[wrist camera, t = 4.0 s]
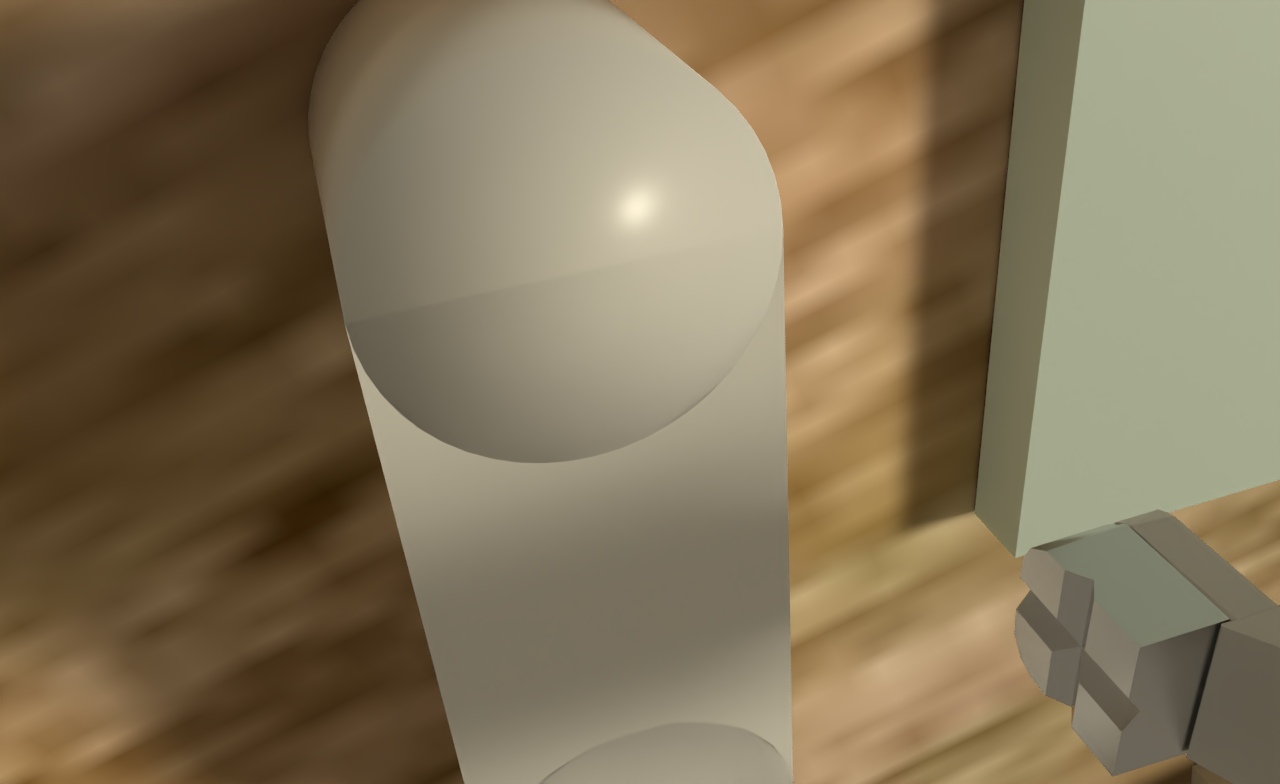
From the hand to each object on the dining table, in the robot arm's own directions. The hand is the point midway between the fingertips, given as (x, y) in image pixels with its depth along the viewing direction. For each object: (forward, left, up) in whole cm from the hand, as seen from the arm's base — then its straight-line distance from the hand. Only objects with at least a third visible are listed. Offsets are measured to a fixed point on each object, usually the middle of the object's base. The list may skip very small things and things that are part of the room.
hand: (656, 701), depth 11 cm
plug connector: (+1, 0, -5) cm, 5 cm away
